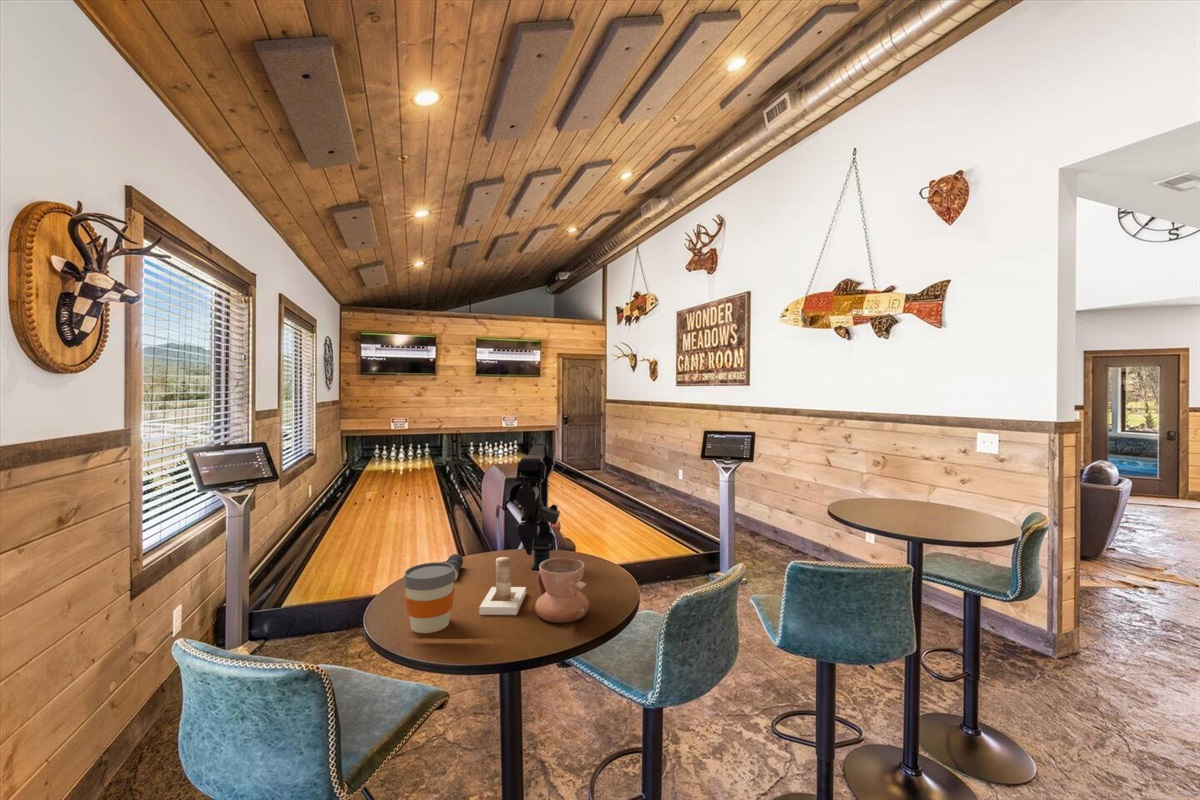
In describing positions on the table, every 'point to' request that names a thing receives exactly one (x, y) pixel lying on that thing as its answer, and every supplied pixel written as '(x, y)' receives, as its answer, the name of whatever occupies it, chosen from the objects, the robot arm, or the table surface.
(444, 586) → the reusable coffee cup
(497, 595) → the cream ridged cylinder
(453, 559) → the grey shaker
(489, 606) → the frame
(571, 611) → the ceramic jug
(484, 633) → the table surface
